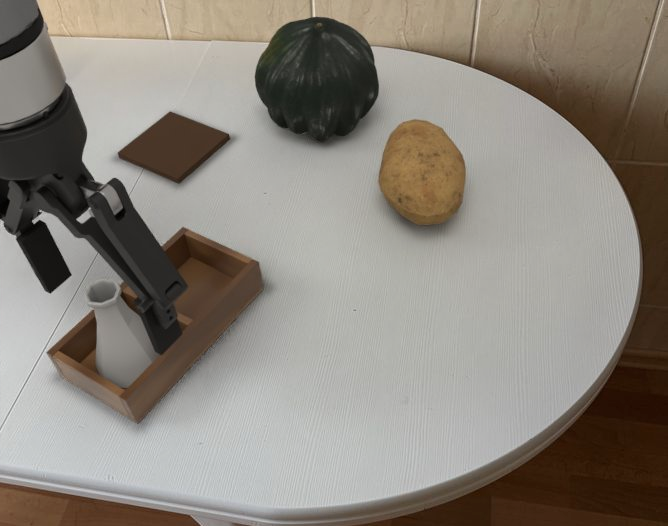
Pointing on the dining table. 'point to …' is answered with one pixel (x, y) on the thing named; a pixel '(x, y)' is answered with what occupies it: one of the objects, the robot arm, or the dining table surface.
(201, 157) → the coaster
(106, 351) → the flask
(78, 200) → the robot arm
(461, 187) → the potato
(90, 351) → the wooden divided tray
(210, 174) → the dining table surface
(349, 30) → the squash
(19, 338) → the dining table surface
